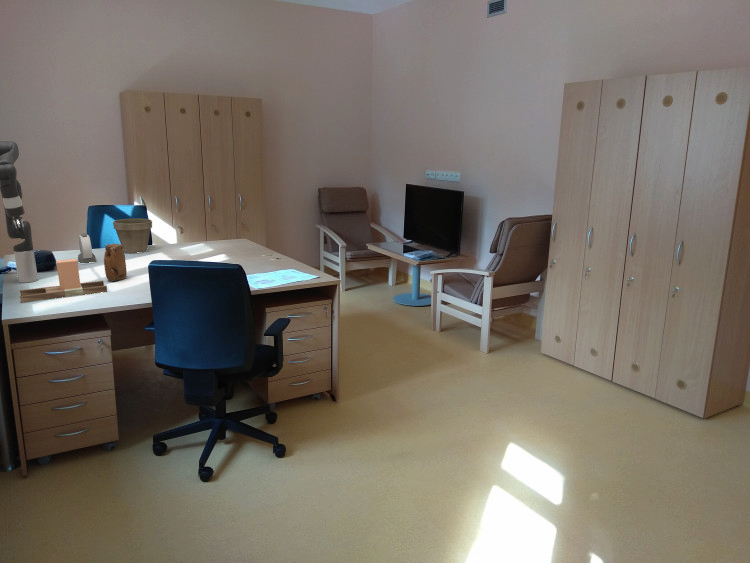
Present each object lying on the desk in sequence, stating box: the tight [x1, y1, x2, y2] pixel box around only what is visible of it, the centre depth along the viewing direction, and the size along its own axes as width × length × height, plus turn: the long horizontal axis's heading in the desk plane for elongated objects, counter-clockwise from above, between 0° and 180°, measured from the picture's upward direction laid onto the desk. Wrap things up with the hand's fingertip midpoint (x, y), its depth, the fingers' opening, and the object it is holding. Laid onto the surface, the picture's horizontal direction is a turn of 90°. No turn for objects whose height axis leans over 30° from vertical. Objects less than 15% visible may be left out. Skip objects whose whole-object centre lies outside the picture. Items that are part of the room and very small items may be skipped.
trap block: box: [55, 258, 81, 290], centre depth 282 cm, size 6×9×14 cm, turn 122°
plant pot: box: [112, 218, 153, 254], centre depth 386 cm, size 25×25×22 cm
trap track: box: [19, 280, 108, 304], centre depth 283 cm, size 14×38×3 cm, turn 122°
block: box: [103, 243, 127, 282], centre depth 309 cm, size 11×8×20 cm
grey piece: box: [77, 233, 97, 263], centre depth 353 cm, size 16×10×18 cm, turn 34°
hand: (23, 238), depth 279 cm, fingers closed
